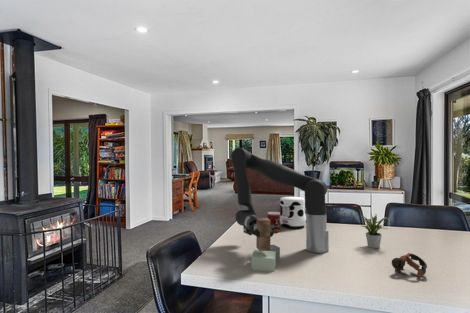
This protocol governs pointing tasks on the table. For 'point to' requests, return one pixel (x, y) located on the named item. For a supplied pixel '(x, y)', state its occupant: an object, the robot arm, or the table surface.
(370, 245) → the house plant
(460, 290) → the table surface
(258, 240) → the walnut post
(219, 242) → the table surface
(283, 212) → the milk container
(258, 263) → the sage block
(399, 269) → the brown arched piece
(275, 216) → the canned food
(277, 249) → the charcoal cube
